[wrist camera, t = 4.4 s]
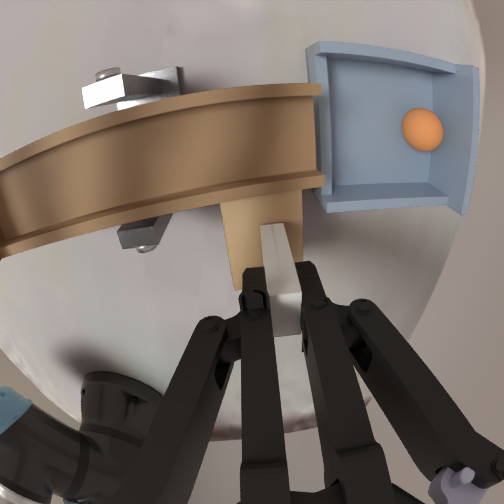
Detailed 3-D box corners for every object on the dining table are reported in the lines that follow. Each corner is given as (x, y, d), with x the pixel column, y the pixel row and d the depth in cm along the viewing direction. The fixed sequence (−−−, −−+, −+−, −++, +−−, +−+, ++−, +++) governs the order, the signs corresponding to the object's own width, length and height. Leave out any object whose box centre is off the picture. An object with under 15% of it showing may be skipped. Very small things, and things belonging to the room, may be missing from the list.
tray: (313, 193, 23) (334, 225, 18) (305, 49, 17) (328, 35, 12) (429, 188, 23) (467, 215, 18) (433, 65, 16) (478, 67, 11)
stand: (143, 209, 23) (108, 261, 16) (117, 82, 17) (61, 84, 10) (198, 201, 23) (182, 252, 16) (177, 66, 17) (144, 54, 10)
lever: (47, 318, 18) (36, 346, 16) (-19, 170, 11) (-45, 185, 9) (311, 266, 21) (329, 292, 18) (306, 83, 14) (331, 82, 12)
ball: (413, 144, 21) (393, 148, 19) (413, 105, 19) (393, 104, 17) (448, 154, 18) (432, 158, 17) (450, 112, 16) (434, 111, 15)
